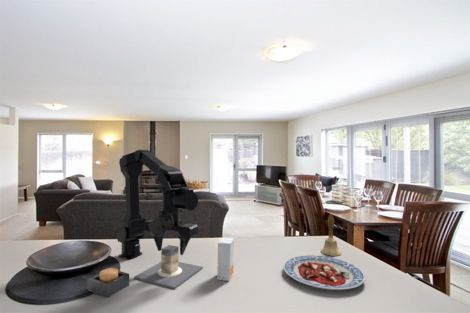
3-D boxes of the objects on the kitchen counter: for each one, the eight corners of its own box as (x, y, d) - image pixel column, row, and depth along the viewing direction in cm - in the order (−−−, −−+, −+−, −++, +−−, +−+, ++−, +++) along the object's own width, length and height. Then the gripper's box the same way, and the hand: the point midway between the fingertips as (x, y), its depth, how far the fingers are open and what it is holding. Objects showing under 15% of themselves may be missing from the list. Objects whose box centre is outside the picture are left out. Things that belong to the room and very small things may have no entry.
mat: (134, 278, 85) (134, 276, 85) (166, 260, 100) (166, 258, 100) (174, 289, 79) (174, 286, 79) (202, 268, 93) (202, 266, 93)
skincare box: (229, 281, 84) (230, 243, 84) (216, 280, 85) (217, 242, 85) (233, 273, 90) (234, 238, 90) (221, 272, 91) (222, 237, 91)
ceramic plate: (276, 285, 82) (276, 276, 82) (290, 256, 106) (290, 249, 106) (368, 304, 72) (368, 293, 72) (361, 267, 96) (361, 259, 96)
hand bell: (316, 251, 111) (317, 214, 111) (327, 247, 116) (327, 211, 116) (335, 257, 105) (335, 217, 105) (345, 253, 110) (345, 214, 110)
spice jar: (161, 272, 88) (161, 248, 88) (168, 267, 92) (169, 244, 92) (170, 274, 86) (171, 250, 86) (178, 270, 90) (178, 246, 90)
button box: (87, 291, 77) (87, 279, 77) (110, 279, 84) (110, 268, 84) (107, 297, 73) (107, 285, 73) (129, 285, 81) (129, 273, 81)
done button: (95, 281, 77) (95, 273, 77) (110, 274, 82) (110, 266, 82) (107, 285, 75) (107, 276, 75) (121, 278, 80) (121, 269, 80)
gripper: (131, 208, 85) (131, 256, 86) (179, 213, 78) (178, 266, 78) (155, 202, 96) (154, 245, 96) (199, 207, 88) (198, 254, 88)
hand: (170, 252), depth 89 cm, fingers open, 9 cm apart
